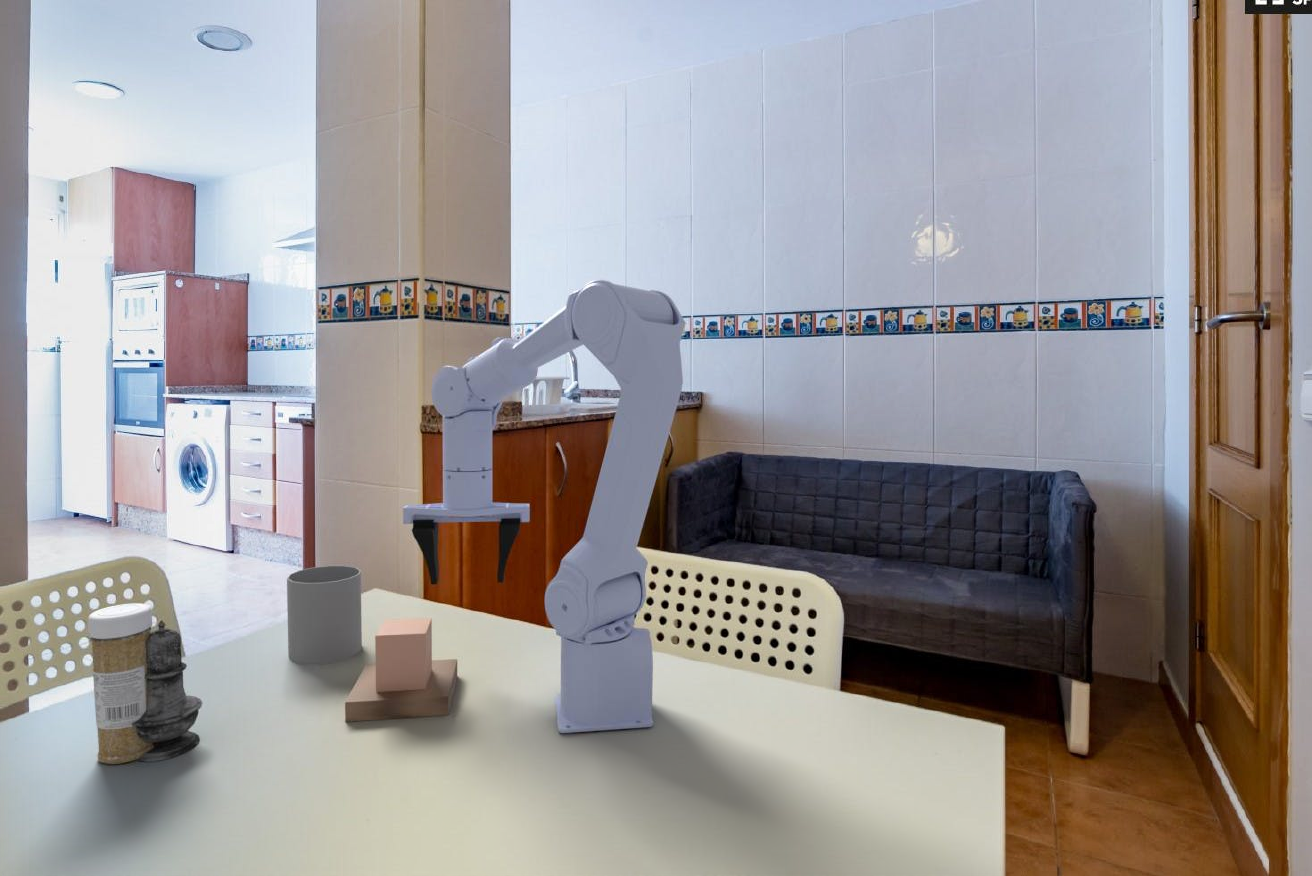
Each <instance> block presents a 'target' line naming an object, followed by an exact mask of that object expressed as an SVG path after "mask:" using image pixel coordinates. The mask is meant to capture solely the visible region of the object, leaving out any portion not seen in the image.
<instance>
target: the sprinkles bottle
mask: <svg viewBox="0 0 1312 876" xmlns="http://www.w3.org/2000/svg"><path fill="white" fill-rule="evenodd" d="M87 624H88V625H87V627H88V628H87V629H88V636H89V637H90V641H91V646H92V663H93V664H92V665H93V666H92V667H93V668H92V677H93V691H94V692H93V693H94V695H93V696H94V706H95V707H94V708H95V722H96V723H95V724H96V728H97V739H98V753H97V760H98V761H99V762H100V763H102V764H103V763H104V764H109V765H117V764H118V765H119V764H124V763H128V762H133V761H137V760H136V759H138V758H140V757H142V754H143V753H145V752H147V751H149V750H151V749H152V748H154V746H153V743H150V742H145V741H143V740H141V739H140V738H139V736H138V735H137V733H136V726H133V725H132V723H133V722H135V721H137V720H139V719H140V718H141V717H142V716H143V714H144V713H145V711H146V707H147V699H148V690H147V679H146V678H145V676H146V674H147V659H146V641H147V638H148V636H149V634H150V633H151V631H152V626H153V615H152V608H151V606H150V605H148V604H146V603H138V602H137V603H123V604H116V605H112V606H107V607H104V608H103V607H102V608H100V609H97V610H96V611H93V612H92V613H90V614H89V616H88V619H87Z"/></svg>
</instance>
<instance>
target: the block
mask: <svg viewBox="0 0 1312 876" xmlns="http://www.w3.org/2000/svg"><path fill="white" fill-rule="evenodd" d="M432 622H433V619H432V617H426V618H425V617H422V618H401V619H400V618H399V619H397V618H396V619H384V620H383V622H382V623H381V625H380V627H379V628H378V629H377V632H376V634H375V636H374V637H375V641H374V643H375V645H374V647H375V663H376V692H385V691H401V690H418V689H426V688H427V684H428V681H429V678H430V675H431V671H432V660H433V657H432V656H433V653H432V652H433V650H432V649H433V642H432V641H433V639H432V637H433V635H432V631H433V629H432V628H433V627H432V625H433V623H432Z"/></svg>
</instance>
